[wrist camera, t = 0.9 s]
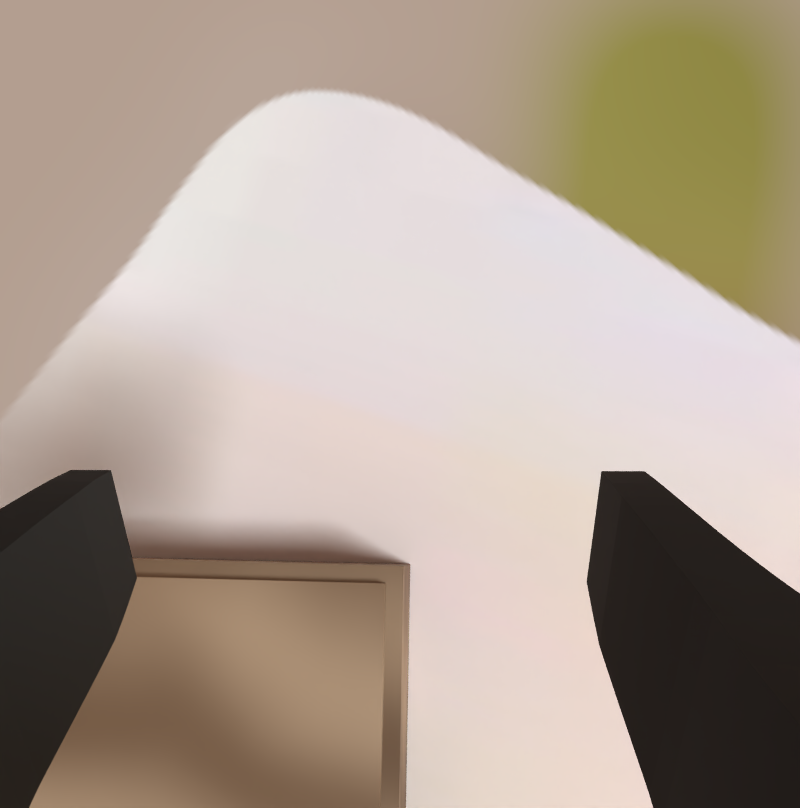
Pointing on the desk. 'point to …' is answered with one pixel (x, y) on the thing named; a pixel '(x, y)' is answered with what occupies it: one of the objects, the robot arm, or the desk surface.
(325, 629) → the walnut base
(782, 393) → the desk surface
